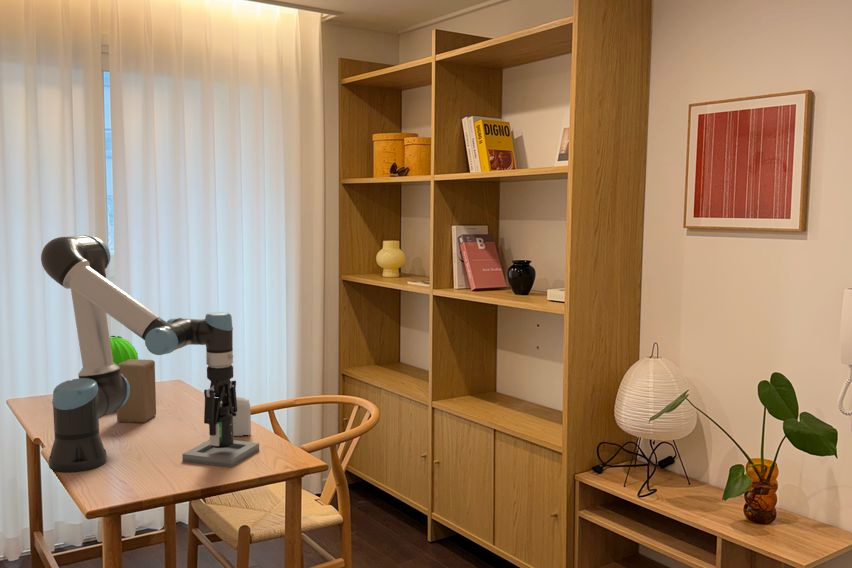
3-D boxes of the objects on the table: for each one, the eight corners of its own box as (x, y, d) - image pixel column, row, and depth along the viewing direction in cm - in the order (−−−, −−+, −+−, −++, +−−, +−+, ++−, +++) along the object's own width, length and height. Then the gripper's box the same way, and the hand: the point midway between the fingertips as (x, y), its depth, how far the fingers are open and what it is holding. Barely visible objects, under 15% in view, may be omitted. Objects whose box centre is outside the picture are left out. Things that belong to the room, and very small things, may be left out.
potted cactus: (115, 412, 275) (112, 342, 272) (70, 404, 284) (68, 337, 281) (160, 398, 295) (158, 333, 292) (117, 391, 304) (115, 328, 301)
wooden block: (157, 415, 271) (155, 359, 269) (144, 423, 261) (142, 365, 259) (130, 414, 272) (128, 358, 270) (115, 422, 262) (113, 364, 260)
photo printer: (217, 437, 248) (216, 399, 246) (219, 433, 252) (218, 396, 250) (250, 436, 249) (249, 399, 247) (251, 432, 253) (251, 395, 251)
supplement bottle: (221, 449, 225) (220, 409, 224) (204, 445, 229) (203, 406, 227) (238, 443, 231) (237, 404, 229) (222, 439, 234) (221, 401, 233)
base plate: (231, 467, 220) (231, 459, 220) (182, 461, 225) (182, 453, 225) (259, 450, 235) (259, 443, 235) (213, 444, 240) (212, 437, 240)
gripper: (212, 373, 217) (214, 453, 219) (248, 359, 235) (250, 433, 238) (189, 371, 219) (191, 450, 221) (226, 357, 238) (228, 430, 240)
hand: (221, 441), depth 230 cm, fingers closed on supplement bottle, 7 cm apart
